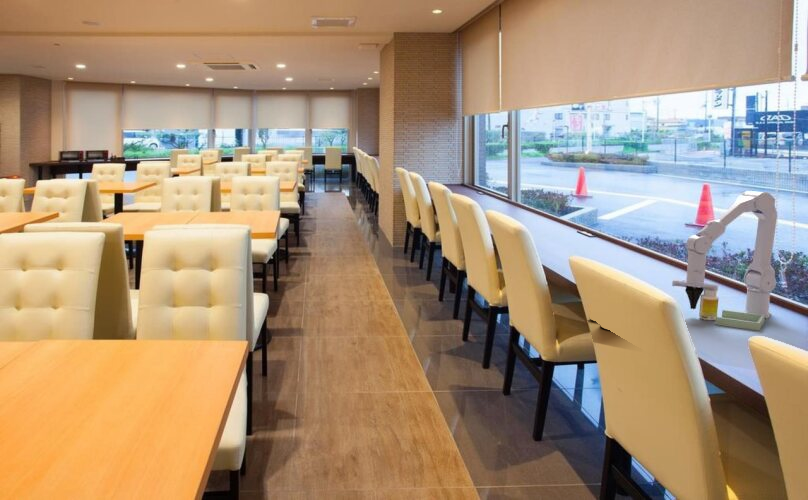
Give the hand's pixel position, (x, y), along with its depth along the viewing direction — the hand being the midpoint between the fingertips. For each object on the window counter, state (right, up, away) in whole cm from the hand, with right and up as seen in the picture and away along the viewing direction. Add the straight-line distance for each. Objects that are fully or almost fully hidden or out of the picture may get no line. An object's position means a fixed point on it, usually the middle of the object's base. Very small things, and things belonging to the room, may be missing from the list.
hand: (693, 308), depth 228 cm
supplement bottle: (+4, -4, -2) cm, 6 cm away
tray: (+12, -4, -8) cm, 15 cm away
